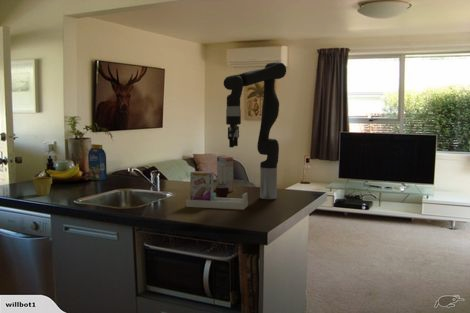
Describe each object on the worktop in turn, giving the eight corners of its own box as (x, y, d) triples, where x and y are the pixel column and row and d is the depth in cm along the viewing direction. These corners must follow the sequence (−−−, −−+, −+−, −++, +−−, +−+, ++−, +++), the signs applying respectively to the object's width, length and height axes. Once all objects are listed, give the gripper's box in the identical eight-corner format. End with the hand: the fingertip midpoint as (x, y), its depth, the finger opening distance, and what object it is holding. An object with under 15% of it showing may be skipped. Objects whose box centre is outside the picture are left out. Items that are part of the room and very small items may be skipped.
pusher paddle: (214, 202, 233) (214, 192, 233) (230, 202, 231) (230, 193, 230) (210, 204, 227) (210, 195, 226) (227, 205, 224) (227, 195, 224)
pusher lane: (192, 202, 238) (192, 189, 237) (247, 205, 230) (247, 192, 230) (186, 206, 228) (186, 193, 228) (243, 209, 221) (243, 195, 221)
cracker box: (233, 191, 269) (233, 157, 267) (224, 192, 267) (224, 157, 265) (225, 188, 282) (225, 155, 280) (216, 188, 280) (216, 155, 278)
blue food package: (96, 178, 324) (94, 143, 321) (107, 179, 317) (105, 144, 314) (88, 179, 319) (87, 144, 316) (99, 180, 312) (98, 145, 309)
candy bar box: (190, 203, 230) (189, 172, 229) (193, 201, 235) (193, 170, 234) (210, 205, 227) (210, 173, 226) (213, 203, 232) (213, 171, 230)
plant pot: (56, 193, 264) (55, 177, 263) (42, 196, 255) (41, 179, 254) (43, 192, 269) (43, 176, 268) (29, 195, 259) (28, 178, 258)
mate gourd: (231, 198, 250) (231, 171, 248) (222, 200, 243) (222, 173, 242) (220, 196, 254) (220, 170, 252) (211, 199, 247) (211, 172, 246)
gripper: (237, 115, 222) (237, 148, 224) (243, 115, 236) (243, 145, 237) (222, 115, 224) (222, 147, 225) (229, 115, 237) (230, 145, 239)
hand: (233, 146), depth 231 cm, fingers open, 8 cm apart
